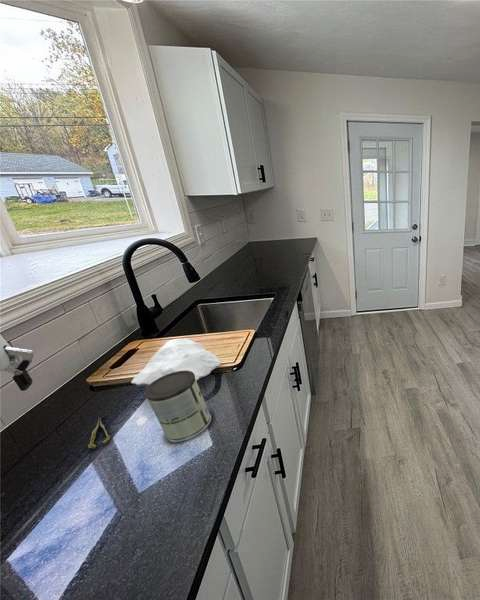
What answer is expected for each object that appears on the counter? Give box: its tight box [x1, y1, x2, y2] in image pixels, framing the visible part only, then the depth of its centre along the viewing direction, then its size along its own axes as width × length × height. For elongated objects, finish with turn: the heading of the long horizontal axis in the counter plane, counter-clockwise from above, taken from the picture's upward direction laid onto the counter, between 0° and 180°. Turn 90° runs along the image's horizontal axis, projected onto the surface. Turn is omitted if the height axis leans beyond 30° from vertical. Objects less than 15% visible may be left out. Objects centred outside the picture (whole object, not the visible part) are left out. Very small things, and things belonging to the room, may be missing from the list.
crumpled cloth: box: [130, 338, 222, 386], centre depth 102 cm, size 24×35×9 cm
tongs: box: [87, 417, 111, 449], centre depth 81 cm, size 4×13×2 cm, turn 46°
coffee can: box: [143, 371, 212, 443], centre depth 79 cm, size 10×10×14 cm
